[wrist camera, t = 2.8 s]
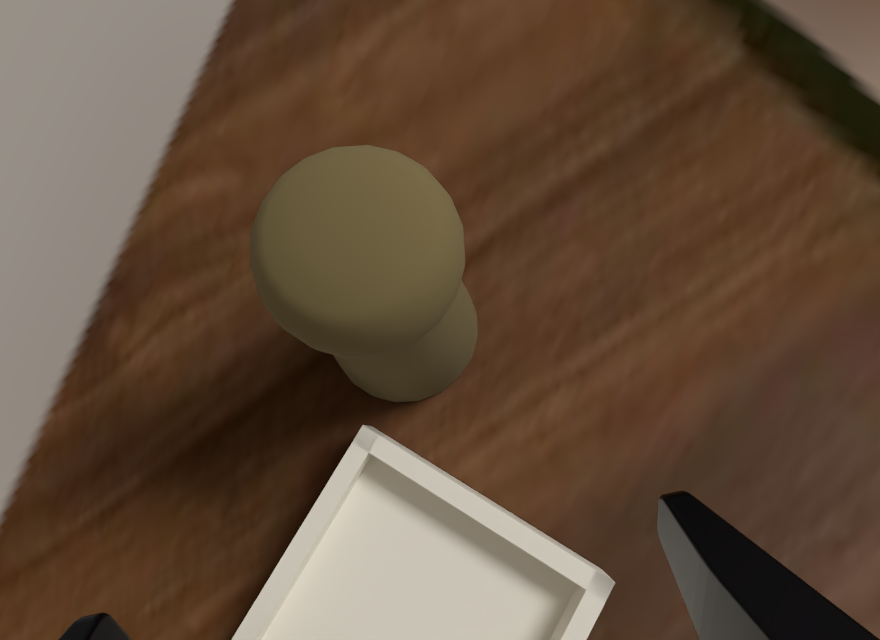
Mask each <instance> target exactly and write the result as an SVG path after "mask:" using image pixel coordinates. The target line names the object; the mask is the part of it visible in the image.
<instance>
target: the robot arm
mask: <svg viewBox="0 0 880 640" xmlns="http://www.w3.org/2000/svg"><path fill="white" fill-rule="evenodd" d="M657 528H658V534H659V538H660V541H661V544H662V546H663V549H664V551H665V554H666V556H667V559H668V561H669V564H670V566H671V569H672V571H673V574H674V576H675V579H676V581H677V584H678V586H679V589H680V591H681V594H682V596H683V599H684V601H685V604H686V606H687V609H688V612H689V614H690V617H691V619H692V622H693V624H694V626H695V629H696V631H697V634H698V636H699V638H700V640H880V639H878V638H877V637H876V636H875V635H873V634H872V633H871V632H869V631H868V630H867V629H865V628H864V627H863V626H862V625H860V624H859V623H858V622H856V621H855V620H854V619H852V618H851V617H850V616H849V615H847V614H846V613H845V612H843V611H842V610H841V609H839V608H838V607H837V606H836V605H834V604H833V603H832V602H830V601H829V600H828V599H826V598H825V597H824V596H823V595H821V594H820V593H819V592H817V591H816V590H815V589H813V588H812V587H811V586H810V585H808V584H807V583H806V582H804V581H803V580H802V579H800V578H799V577H798V576H797V575H795V574H794V573H793V572H791V571H790V570H789V569H787V568H786V567H785V566H784V565H782V564H781V563H780V562H778V561H777V560H776V559H774V558H773V557H772V556H771V555H769V554H768V553H767V552H765V551H764V550H763V549H761V548H760V547H759V546H758V545H756V544H755V543H754V542H752V541H751V540H750V539H748V538H747V537H746V536H745V535H743V534H742V533H741V532H739V531H738V530H737V529H735V528H734V527H733V526H732V525H730V524H729V523H728V522H726V521H725V520H724V519H722V518H721V517H720V516H719V515H717V514H716V513H715V512H713V511H712V510H711V509H709V508H708V507H707V506H706V505H704V504H703V503H702V502H700V501H699V500H698V499H696V498H695V497H694V496H693V495H691V494H690V493H688V492H686V491H677V492H672V493H668V494H663V495H661V496H660V498H659V502H658V524H657ZM58 640H131V639H130V637H129V635H128V634H127V633H126V632H125V631H124V630H123V629H122V628H121V627H120V626H119V625H118V623H117V622H116V621H115V620H114V619H113V618H112V617H111V616H110V615H109V614H107V613H98V614H94V615H89V616H84V617H82V618H79V619H78V620H76V621H75V622H74V623H73V624H72V625H71V626H70V627H69V628H68V629H67V630H66V632H65V633H64V634H63V635H62V636H61V637H60V638H59V639H58Z"/></svg>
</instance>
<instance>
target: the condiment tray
mask: <svg viewBox="0 0 880 640" xmlns="http://www.w3.org/2000/svg"><path fill="white" fill-rule="evenodd" d="M614 584H615V582H614V581H613V580H612V579H611V578H610V577H609V576H608V575H607V574H606V573H605V572H604V571H603V570H602V569H601V568H599V567H597V566H596V565H594V564H593V563H591V562H589V561H588V560H586V559H585V558H583V557H581V556H580V555H578V554H576V553H575V552H573V551H572V550H570V549H568V548H567V547H565V546H564V545H562V544H560V543H559V542H557V541H556V540H554V539H552V538H551V537H549V536H548V535H546V534H544V533H543V532H541V531H540V530H538V529H536V528H535V527H533V526H531V525H530V524H528V523H527V522H525V521H523V520H522V519H520V518H519V517H517V516H515V515H514V514H512V513H511V512H509V511H507V510H506V509H504V508H503V507H501V506H499V505H498V504H496V503H494V502H493V501H491V500H490V499H488V498H486V497H485V496H483V495H482V494H480V493H478V492H477V491H475V490H474V489H472V488H470V487H469V486H467V485H466V484H464V483H462V482H461V481H459V480H458V479H456V478H454V477H453V476H451V475H449V474H448V473H446V472H445V471H443V470H441V469H440V468H438V467H437V466H435V465H433V464H432V463H430V462H429V461H427V460H425V459H424V458H422V457H421V456H419V455H417V454H416V453H414V452H413V451H411V450H409V449H408V448H406V447H404V446H403V445H401V444H400V443H398V442H396V441H395V440H393V439H392V438H390V437H388V436H387V435H385V434H384V433H382V432H380V431H379V430H377V429H376V428H374V427H372V426H366V425H362V427H361V429H360V430H359V432H358V434H357V435H356V437H355V438H354V440H353V442H352V443H351V445H350V447H349V448H348V450H347V452H346V453H345V455H344V456H343V458H342V460H341V461H340V463H339V465H338V466H337V468H336V470H335V471H334V473H333V474H332V476H331V478H330V479H329V481H328V483H327V484H326V486H325V488H324V489H323V491H322V492H321V494H320V496H319V497H318V499H317V501H316V502H315V504H314V505H313V507H312V509H311V510H310V512H309V514H308V515H307V517H306V519H305V520H304V522H303V523H302V525H301V527H300V528H299V530H298V532H297V533H296V535H295V537H294V538H293V540H292V541H291V543H290V545H289V546H288V548H287V550H286V551H285V553H284V555H283V556H282V558H281V559H280V561H279V563H278V564H277V566H276V568H275V569H274V571H273V573H272V574H271V576H270V577H269V579H268V581H267V582H266V584H265V586H264V587H263V589H262V590H261V592H260V594H259V595H258V597H257V599H256V600H255V602H254V604H253V605H252V607H251V608H250V610H249V612H248V613H247V615H246V617H245V618H244V620H243V622H242V623H241V625H240V626H239V628H238V630H237V631H236V633H235V635H234V636H233V638H232V640H587V638H588V636H589V634H590V632H591V630H592V628H593V626H594V624H595V622H596V620H597V618H598V616H599V614H600V612H601V610H602V608H603V606H604V604H605V602H606V600H607V598H608V596H609V594H610V592H611V590H612V588H613V586H614Z"/></svg>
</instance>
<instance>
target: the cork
mask: <svg viewBox="0 0 880 640" xmlns="http://www.w3.org/2000/svg"><path fill="white" fill-rule="evenodd" d="M250 267H251V270H252V273H253V276H254V279H255V283H256V286H257V289H258V292H259V295H260V297H261V300H262V302H263V304H264V305H265V306H266V308H267V309H268V310H269V312H270V313H271V314H272V316H273V317H274V318H275V320H276V321H277V322H278V324H279V325H280V326H281V328H282V329H284V330H285V331H287V332H288V333H290V334H291V335H293V336H294V337H296V338H297V339H299V340H300V341H302V342H303V343H305V344H306V345H308V346H309V347H311V348H313V349H315V350H317V351H321V352H325V353H328V354H332V355H333V356H334V357H335V359H336V361H337V362H338V364H339V366H340V367H341V368H342V370H343V371H344V372H345V374H346V375H347V376H348V377H349V379H350V380H351V381H352V383H353V384H355V385H356V386H358V387H359V388H361V389H362V390H364V391H365V392H367V393H368V394H370V395H371V396H373V397H377V398H381V399H384V400H388V401H392V402H412V401H420V400H423V399H425V398H428V397H431V396H433V395H436V394H438V393H441V392H442V391H443V390H445V389H446V388H447V387H448V386H449V385H451V384H452V383H453V382H454V381H456V380H457V379H458V378H459V377H460V376H461V374H462V373H463V371H464V369H465V368H466V366H467V365H468V363H469V362H470V360H471V359H472V356H473V352H474V349H475V345H476V341H477V337H478V327H477V312H476V310H475V307H474V305H473V303H472V300H471V298H470V295H469V293H468V291H467V289H466V287H465V286H464V284H463V282H462V280H461V279H462V275H463V271H464V268H465V251H464V234H463V225H462V223H461V220H460V218H459V216H458V213H457V211H456V208H455V206H454V204H453V201H452V199H451V197H450V196H449V194H448V193H447V192H446V191H445V189H444V188H443V187H442V186H441V185H440V184H439V183H438V182H437V180H436V179H435V178H434V177H433V176H432V175H431V174H430V172H429V171H428V170H427V169H426V168H425V167H423V166H422V165H420V164H418V163H417V162H415V161H413V160H411V159H410V158H408V157H406V156H405V155H403V154H401V153H399V152H397V151H392V150H388V149H383V148H379V147H374V146H370V145H361V146H347V147H333V148H330V149H328V150H325V151H322V152H320V153H317V154H314V155H312V156H309V157H306V158H305V159H303V160H302V161H300V162H299V163H298V164H296V165H295V166H294V167H292V168H291V169H290V170H288V171H287V172H286V173H284V174H283V175H282V176H281V177H280V178H279V180H278V181H277V182H276V184H275V185H274V186H273V188H272V189H271V190H270V192H269V193H268V194H267V196H266V197H265V198H264V200H263V201H262V202H261V205H260V207H259V210H258V213H257V216H256V219H255V221H254V224H253V227H252V230H251V233H250Z"/></svg>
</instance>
